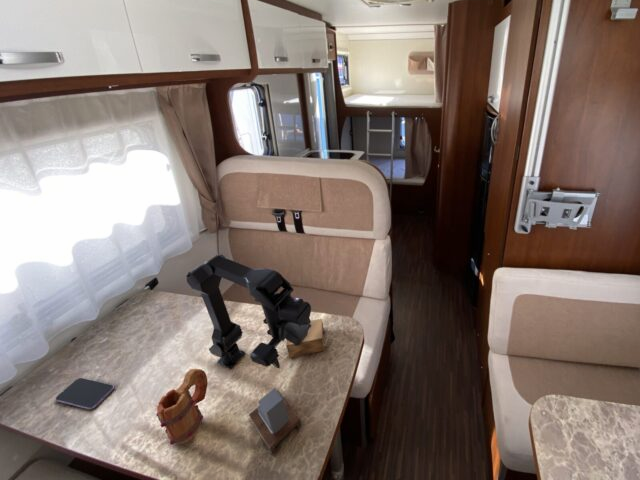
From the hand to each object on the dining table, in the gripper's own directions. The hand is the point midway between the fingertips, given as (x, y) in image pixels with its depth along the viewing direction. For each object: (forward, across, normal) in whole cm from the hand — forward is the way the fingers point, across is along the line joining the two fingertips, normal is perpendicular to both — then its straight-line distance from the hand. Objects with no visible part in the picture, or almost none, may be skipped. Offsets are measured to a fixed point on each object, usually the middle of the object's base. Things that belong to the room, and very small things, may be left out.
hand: (288, 354), depth 89 cm
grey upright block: (+12, -11, -1) cm, 16 cm away
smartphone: (+11, -26, +63) cm, 69 cm away
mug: (+14, -19, +22) cm, 32 cm away
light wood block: (+14, +14, +7) cm, 21 cm away
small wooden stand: (+14, -11, 0) cm, 18 cm away
